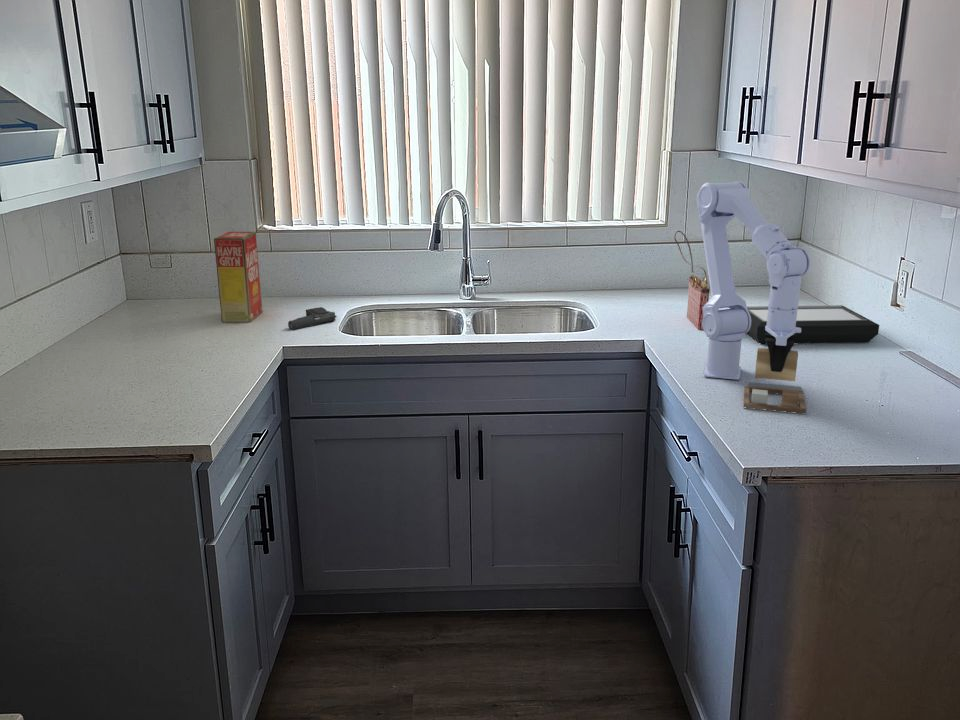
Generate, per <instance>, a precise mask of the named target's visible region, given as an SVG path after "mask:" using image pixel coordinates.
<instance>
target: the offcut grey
mask: <svg viewBox="0 0 960 720" xmlns="http://www.w3.org/2000/svg"><path fill="white" fill-rule="evenodd" d="M768 398H769V393H768V390H758V389H752V392H751V400H750V403H758V404H768Z"/></svg>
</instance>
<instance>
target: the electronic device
mask: <svg viewBox="0 0 960 720" xmlns="http://www.w3.org/2000/svg"><path fill="white" fill-rule="evenodd" d="M768 307H769V305H767V306H764V305H763V306H747V310H748V312H749V313H750V316H751V327H750V329H749V331H748V332H747V334H746V335H748V336H749V337H750V336H751V337H752V338H751V337H750V338H751V339H753V340H754V341H755V340H756V341H757V343H758V344H759V343H766V336H765V333H768V332H767V331H766V330H765V326H766V325H767V316H768ZM796 327H799V328H801V333H794V334H793V336H794V337H793V339H792V341H794V343H798V344H851V343H852V344H855V343H856V344H864V343H870V342H871V341H872V340H873V339H875V338H876V337H877V336H878V335H879V330H880V324H878V323H876V322H874V321H873V320H871V319H869V318H867V317H865V316H863V315H861V314H860V313H858V312H856V311H854V310H852V309H851V308H848V307H846V306H844V305H841V304H840V305H838V304H837V305H798V310H797V319H796ZM756 341H755V342H756Z"/></svg>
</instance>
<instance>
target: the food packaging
mask: <svg viewBox="0 0 960 720" xmlns="http://www.w3.org/2000/svg"><path fill="white" fill-rule="evenodd" d="M213 243H214V254H215V265H216V272H217V273H216V274H217V285H218V295H219V297H218V298H219V306H220V316H221V317H220V319H221V321H220V322H221V323H252V322H253V321H254V320H255V319H257V318H258V317H259V316H260V315H261V314H262V313H263V310H264V309H263V302H262V301H263V300H262V292H261V290H262V289H261V279H260V269H259V268H260V267H259V266H260V264H259V255H258V244H257V243H258V242H257V232H256V231H227V232H225V233H222V234H221V235H219V236H217V237H214V238H213Z"/></svg>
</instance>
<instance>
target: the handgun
mask: <svg viewBox="0 0 960 720" xmlns="http://www.w3.org/2000/svg"><path fill="white" fill-rule="evenodd" d="M336 318H337V315H336V312H335V311H329V310H327V309H326V308H324V307H322V306H321V307H313V308H308V309H305V316H301V317H298V318H295V319H292V320H289V321H288V324H287V325H288V329H289V330H292V331H295V330H298V329H303V328H308V327H312V326H313V327H314V326H316V325H319V324H323V323H324V324H325V323H328V322H333V321H336Z"/></svg>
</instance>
